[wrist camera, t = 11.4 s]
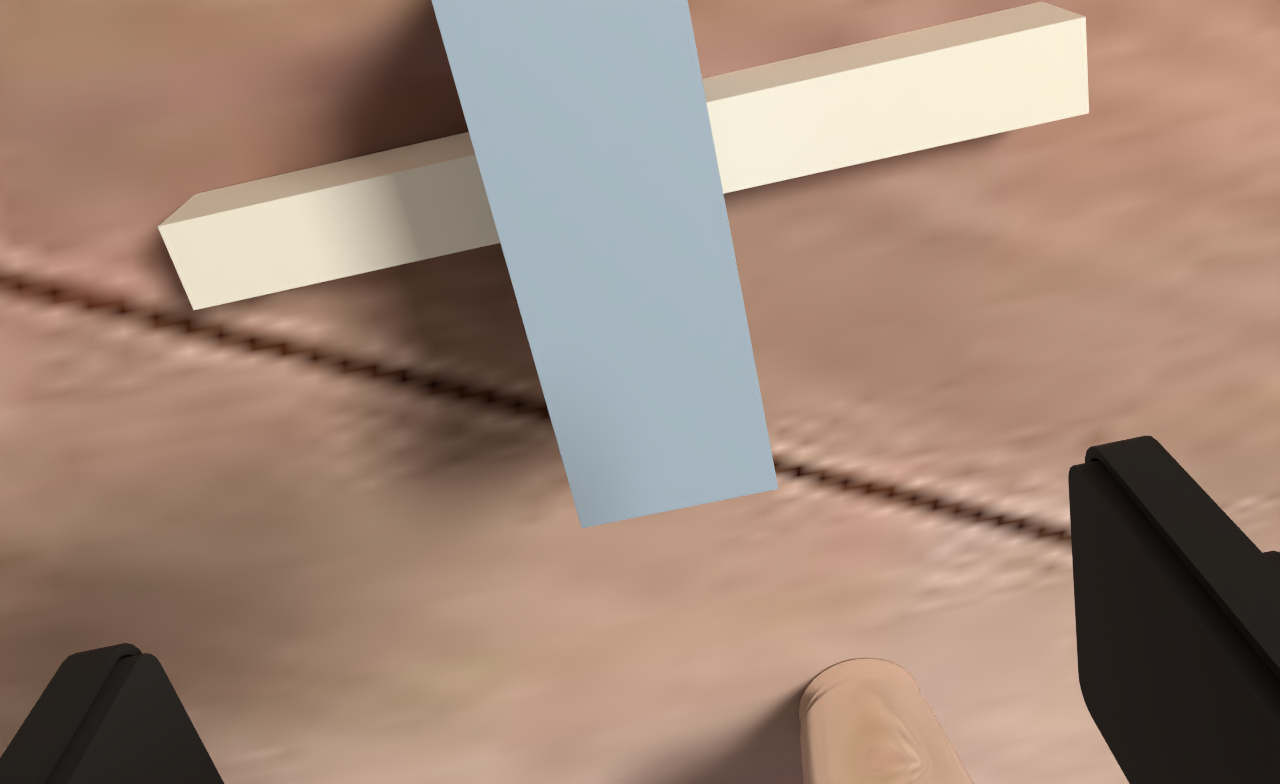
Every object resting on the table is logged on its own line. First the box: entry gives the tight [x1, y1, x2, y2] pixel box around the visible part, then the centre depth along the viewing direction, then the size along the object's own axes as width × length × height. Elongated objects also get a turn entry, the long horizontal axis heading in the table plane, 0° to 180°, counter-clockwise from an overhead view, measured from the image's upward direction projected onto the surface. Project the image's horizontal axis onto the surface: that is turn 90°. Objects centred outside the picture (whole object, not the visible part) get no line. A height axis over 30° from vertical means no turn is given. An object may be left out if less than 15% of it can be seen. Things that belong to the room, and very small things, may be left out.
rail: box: [158, 1, 1089, 310], centre depth 30 cm, size 2×24×3 cm, turn 102°
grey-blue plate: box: [432, 0, 778, 528], centre depth 27 cm, size 12×4×10 cm, turn 12°
